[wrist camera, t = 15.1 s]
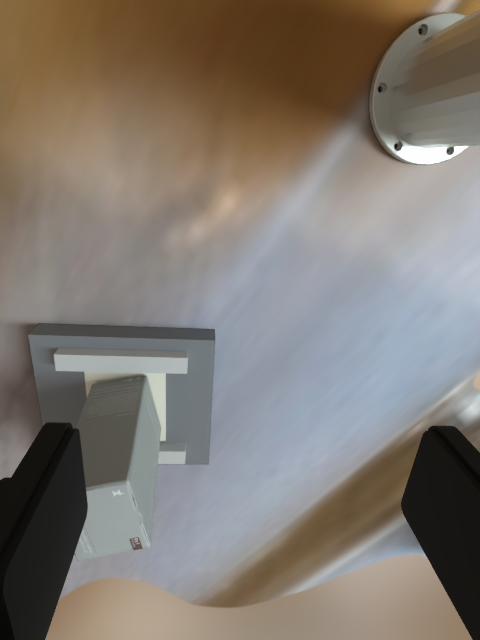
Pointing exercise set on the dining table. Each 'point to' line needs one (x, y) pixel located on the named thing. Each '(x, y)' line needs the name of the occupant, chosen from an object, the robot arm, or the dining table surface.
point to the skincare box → (118, 466)
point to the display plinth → (125, 362)
